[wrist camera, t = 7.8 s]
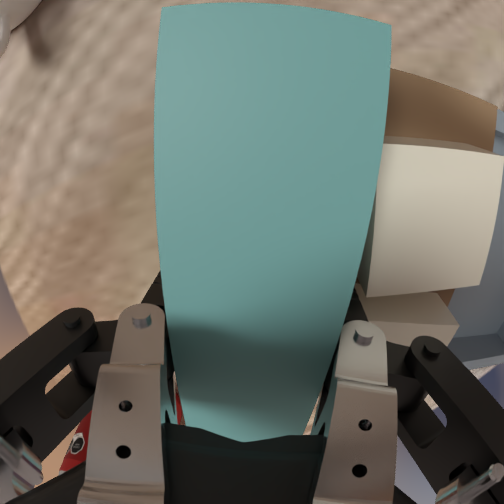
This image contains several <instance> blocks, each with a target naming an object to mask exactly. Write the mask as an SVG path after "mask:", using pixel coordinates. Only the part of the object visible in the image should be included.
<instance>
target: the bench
mask: <svg viewBox="0 0 504 504" xmlns="http://www.w3.org/2000/svg"><path fill="white" fill-rule="evenodd" d="M497 108H498V107H497V106H495V105H493V104H490V103H488V102H486V101H484V100H482V99H479V98H477V97H475V96H472V95H470V94H468V93H465V92H463V91H460V90H458V89H455V88H452V87H450V86H447V85H444V84H441V83H438V82H435V81H433V80H429V79H426V78H423V77H420V76H417V75H413V74H410V73H407V72H403V71H399V70H396V69H392V68H390V80H389V94H388V105H387V115H386V124H385V133H384V136H396V137H411V138H423V139H433V140H442V141H451V142H459V143H466V144H469V145H472V146H476V147H479V148H482V149H485V150H488V151H491V152H493V147H494V139H495V131H496V121H497ZM355 283H357V284H360V282H359V280H358V277H357V278H356V281H355ZM454 290H455V288H453V289H445V290H437V291H428V292H432V293H437V294H438V295H439V296H440V298H441V299H442V301H443V302H444V303H445V305H446V306H447V307H448V305H449V302H450V300H451V298H452V295H453V293H454Z"/></svg>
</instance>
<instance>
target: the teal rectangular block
mask: <svg viewBox="0 0 504 504" xmlns="http://www.w3.org/2000/svg"><path fill="white" fill-rule="evenodd" d="M390 63H391V25H389V24H385V23H382V22H378V21H374V20H371V19H367V18H362V17H358V16H354V15H349V14H344V13H339V12H334V11H328V10H322V9H316V8H309V7H301V6H292V5H281V4H267V3H203V4H189V5H179V6H170V7H162V11H161V19H160V29H159V39H158V50H157V64H156V80H155V105H154V176H155V202H156V220H157V235H158V247H159V259H160V269H161V279H162V288H163V296H164V304H165V312H166V319H167V326H168V333H169V340H170V346H171V352H172V358H173V364H174V370H175V375H176V381H177V386H178V391H179V396H180V401H181V405H182V410H183V415H184V419H185V424H186V426H190V427H197V428H202V429H204V430H207V431H210V432H213V433H215V434H218V435H221V436H224V437H227V438H230V439H234V440H237V441H240V442H251V441H257V440H264V439H270V438H275V437H281V436H286V435H303V433H304V430H305V428H306V426H307V423H308V421H309V419H310V416H311V414H312V411H313V409H314V406H315V404H316V401H317V398H318V396H319V393H320V391H321V388H322V385H323V383H324V380H325V377H326V374H327V372H328V369H329V366H330V363H331V360H332V357H333V354H334V351H335V348H336V345H337V342H338V339H339V336H340V333H341V330H342V327H343V323H344V320H345V317H346V313H347V310H348V307H349V303H350V300H351V296H352V292H353V289H354V285H355V281H356V278H357V274H358V270H359V266H360V262H361V258H362V254H363V249H364V245H365V241H366V236H367V232H368V227H369V222H370V218H371V213H372V208H373V203H374V197H375V192H376V186H377V180H378V174H379V168H380V162H381V155H382V148H383V140H384V133H385V124H386V115H387V105H388V94H389V80H390Z"/></svg>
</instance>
